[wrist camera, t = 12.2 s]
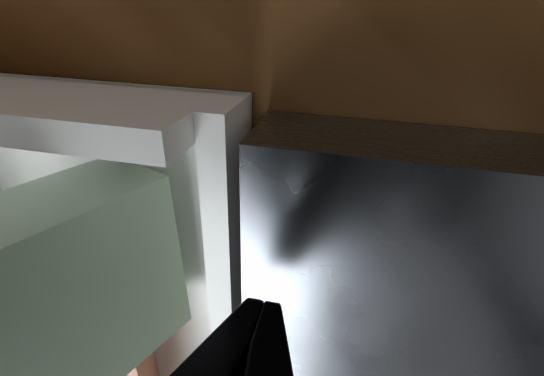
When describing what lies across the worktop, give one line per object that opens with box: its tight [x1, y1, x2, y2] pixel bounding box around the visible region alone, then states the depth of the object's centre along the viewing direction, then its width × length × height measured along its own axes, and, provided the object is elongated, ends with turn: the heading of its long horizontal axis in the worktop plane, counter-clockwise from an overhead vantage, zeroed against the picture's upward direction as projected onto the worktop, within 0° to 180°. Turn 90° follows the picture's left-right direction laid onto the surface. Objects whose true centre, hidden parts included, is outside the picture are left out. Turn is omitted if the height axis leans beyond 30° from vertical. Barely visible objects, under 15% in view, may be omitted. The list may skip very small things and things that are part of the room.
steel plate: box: [239, 111, 544, 376], centre depth 11 cm, size 16×14×3 cm
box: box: [0, 73, 252, 376], centre depth 13 cm, size 17×11×4 cm, turn 179°
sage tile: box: [0, 159, 191, 376], centre depth 10 cm, size 6×6×3 cm
